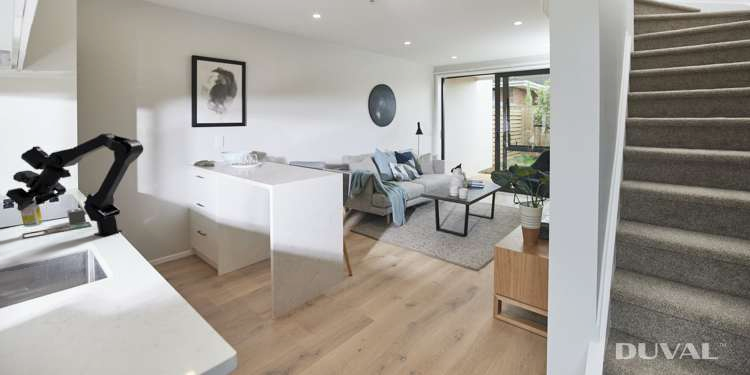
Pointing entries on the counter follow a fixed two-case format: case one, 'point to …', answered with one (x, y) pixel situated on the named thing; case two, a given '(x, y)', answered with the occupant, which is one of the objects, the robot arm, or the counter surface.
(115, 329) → the counter surface
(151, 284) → the counter surface
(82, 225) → the board
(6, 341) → the counter surface
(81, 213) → the die
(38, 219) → the supplement bottle
